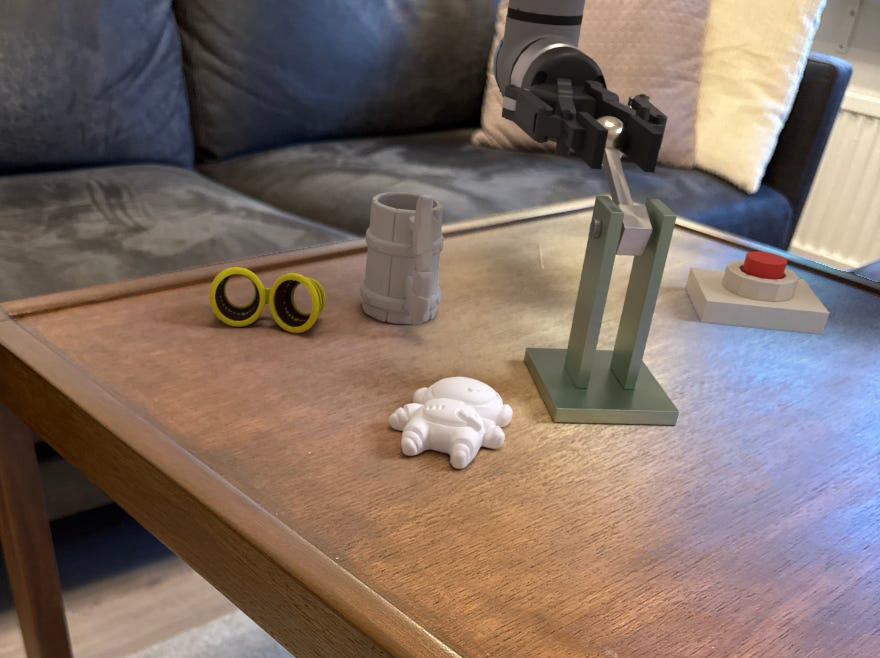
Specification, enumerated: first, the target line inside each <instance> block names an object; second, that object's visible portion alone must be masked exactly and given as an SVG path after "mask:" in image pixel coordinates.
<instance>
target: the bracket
mask: <svg viewBox="0 0 880 658" xmlns="http://www.w3.org/2000/svg"><path fill="white" fill-rule="evenodd" d="M594 199H595V200H594V206H593V210H592V215H591V221H590V224H589V232H588V236H587V242H586V248H585V252H584V258H583V263H582V268H581V274H580V278H579V283H578V290H577V295H576V300H575V304H574V305H575V306H574V310H573V311H574V312H573V316H572V320H571V321H572V322H571V325H570V326H571V327H570V332H569V338H568V343H567V347H566V348H554V347H553V348H552V347H550V348H549V347H525V353H524V358H523V361H524V363H525V365H526V367H527V370H528V371H529V373H530V375H531V377H532V379H533V382H534V383H535V386H536V387H537V388H536V389H538V391H539V394H540V396H541V398H542V400H543V402H544V404H545V406H546V408H547V410H548V412H549V414H550V416H551V419H552V420H553V422H554V423H571V424H573V423H574V424H611V425H613V424H614V425H615V424H616V425H657V426H660V425H661V426H676V425H677V421H678V418H679V414H680V411H679V409H678V408H677V406H676V405H675V403H674V402H673V400H671V398H670V397H669V395H668V394H667V392H666V391H665V389H664V388H663V387H662V385H661V384H660V383H659V381H658V379H657V378H656V377H655V376H654V374H653V373H652V372H651V370H650V369H649V367H648V366H647V365H646V363H645V362H644V360H643V359H644V355H645V350H646V346H647V342H648V338H649V333H650V331H651V330H650V329H651V325H652V322H653V317H654V313H655V308H656V305H657V302H658V301H657V300H658V296H659V292H660V288H661V284H662V280H663V275H664V271H665V269H666V263H667V259H668V256H669V255H668V254H669V252H670V251H669V250H670V246H671V242H672V238H673V233H674V229H675V225H676V221H677V218H678V215H677V214H676V213H675V212H673V211H672V210H671V209H670V208H669V206H667V205H666V204H665V203H664V202H663V201H661V200H660V198H646V200H645V205H644V206H646V208H647V212H648V215H649V218H650V222H651V225H652V229H653V231H652V233H651V236H650V238H649V241H648V244H647V246H646V249H645V251H644V254H643V256H633V260H632V264H631V267H630V268H631V269H630V273H629V278H628V283H627V287H626V292H625V296H624V301H623V306H622V309H621V314H620V320H619V323H618V328H617V333H616V338H615V341H614V346H613V349H612V350H611V349H610V350H609V349H597V348H598V347H597V346H598V342H599V337H600V332H601V328H602V323H603V318H604V314H605V310H606V309H605V308H606V303H607V299H608V293H609V289H610V285H611V279H612V275H613V270H614V266H615V260H616V256H617V255H616V251H617V246H618V241H619V237H620V232H621V227H622V222H623V217H624V212H623V211H622V210H621V209H620V208H619V207H618V206H617V205H616V204H615V203H614V202H613V201H612V198H611V197H609V196H608V195H595V198H594Z"/></svg>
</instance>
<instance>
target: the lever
mask: <svg viewBox="0 0 880 658" xmlns="http://www.w3.org/2000/svg"><path fill="white" fill-rule="evenodd" d="M596 121H598V122H599V123H600V124H601V125H602V126H603V127H605V128H606V129H607V130H608V136H607V141H606V146H605V151H604V157H603V162H602V168H603V172H604V175H605V179H606V183H607V186H608V190H609V193H610V199H611V200H612V201H613V202H614V203H615V204H616V205H617V206H618V207H619V208H620V209H621V210H622V211H623V212H624V217H623V222H622V227H621V232H620V237H619V241H618V246H617V251H616V256H630V257H634V256H643V254H644V251H645V249H646V246H647V244H648V241H649V238H650V236H651V233H652V231H653V229H652V225H651V222H650V218H649V215H648V212H647V208H646V206H645V205H642V204H641V205H640V204H634V202H633V199H632V195H631V191H630V188H629V185H628V182H627V178H626V174H625V171H624V168H623V164H622V161H621V159H622V157H623V156H624V155H625V154H624V153H625V151H626V148H627V145H628V132H627V129H626V127H625V125H624V124H623V123H622V122H621V121H620V120H619V119H617V118H615V117H612V116H603V117H600V118H598V119H596Z"/></svg>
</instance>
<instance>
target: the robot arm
mask: <svg viewBox="0 0 880 658" xmlns="http://www.w3.org/2000/svg"><path fill="white" fill-rule="evenodd" d="M585 5H586V0H508V6H507V12H506V16H505V23H504V33H503V36H502V38H501V39H500V42H499V43H498V45H497V46H496V49H495V52H494V56H493V62H492V63H493V64H492V68H493V69H492V70H493V76H494V80H495V83H496V86H497V88H498V89H499V93H500V95H501V97H502V98H503V101H502V108H501V109H502V111H501V118H503V119H505V120H508V121H510V122H513V123H514V124H515V125H516V126H518V128H519V129H520V130H522V131H523V133H525V134H527V136H529V138H531V139H532V140H533V141H534V142H537V144H544V143H548V142H550V143H551V142H552V143H555V148H554V149H555V150H554V154H555V155H557V156H563V157H565V156H566V157H567V156H569V155H570V153H571V149H572V151H573V152H575V154H576V155H577V156H579V158H580V159H581V160H582V161H583V162H584V163H585V164H586V165H587V166H588V167H589V168H590V169H591V170H602V168H603V166H602V162H603V157H604V151H605V146H606V141H607V136H608V130H607V129H606V128H605V127H603V126H602V125H601V124H600V123H599V122H598V121H596V119H598V118H600V117H603V116H612V117H615V118H617V119H619V120H620V121H621V122H622V123H623V124H624V125H625V127H626V129H627V132H628V145H627V148H626V151H625V153H624V154H623V155H625V156H626V157H627V158H628V159H630V161H632V162H633V163H634V164H636V166H638V167H639V168H640V170H642V171H643V172H644V173H652V174H653V173H655V172H656V167H657V163H658V158H659V152H660V150H661V148H662V145H663V140H664V136H665V131H666V127H667V122H668V116H667V115H666V114H664V113H663V112H662V110H661V109H659V108H658V107H657V106H655V105H654V104H652V102H650V98H651V97H650V96H649V95H647V94H645V93H639V94H636V95H635V96H633V95H630V96H629V97H628V100H627V102H623V101H620V96H619V95H618V94H617V93H615V92H613V91H611V90H610V89H608V87H607V83H606V78H605V76H604V73H603V71H602V69H601V67H600V66H599V64H598V63H597V62H596V61H595V60H594V59H593V58H591V57H590V56H589V55H587V54H586V53H584V52H583V51H582V50H580V49H579V41H580V35H581V30H582V24H583V17H584V15H583V14H584V9H585Z"/></svg>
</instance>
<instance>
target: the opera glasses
mask: <svg viewBox="0 0 880 658" xmlns="http://www.w3.org/2000/svg"><path fill="white" fill-rule="evenodd" d="M237 276H242V277H245V278H247V279H248V280H249V281H250V282H251V283H252V285H253V288H254V295H253V298H252V299H251V301H250V302H249V303H248V304H246V305H236V304H234V303H233V302H232V301H231V300H230V299H229V298H228V296H227V292H226V289H227V284H228V282H229V281H230V280H231V279H232V278H234V277H237ZM300 285H302V286H304V287H305V288H306V290H307V292H308V293H309V295H310V299H311V311H310V313H309V312H303V311H302V310H300V308H299V307H298V306H297V304H296V302H295V292H296V290H297V288H298V286H300ZM208 301H209V305H210V307H211V310H212V312H213V314H214V315H215V317H217V319H219V320H220V321H221V322H222V323H224V324H226V325H228V326H231V327H236V328H238V327H241V328H242V327H245V326H249V325H251V324H252V323H254V322H255V321H257V320H258V319H259V318H260V317H261V315H262V314H263V313H264V309H265V306H266V305H268V307H269V311H270V314H271V317H272V318H273V320H274V321H275V323H276V324H277V325H278V326H279V327H280V328H282V330H285V331H286V332H289V333H294V334H299V333H304V332H306V331H308V330H309V329H311V328H312V327H313V326H314V324H315V323H316V322H317V320H318V317H319V315H320V314H321V313H322V312H323V311H324V309H325V307H326V304H327V303H326V302H327V295H326V291H325V288H324V287H323V286H322V284H321V283H320V282H319V281H317V279H314V278H312V277H306V276H304V275H303V274H300V273H297V272H287V273H285V274H283V275H280V276H279V277H278V278H277V279H276V280H275V281H274V282H273V284H272V286H271V287H270V288H268V287H266V286H264V285H263V282H262V281H261V279H260V278H259V277H258V275H256V273H254V272H253V271H251V270H250V269H248V268H244V267H242V266H241V267H240V266H233V267H227V268H225V269H223V270H222V271H220V272H219V273H218V274H217V275H216V276H215V277H214V278H213V280H212V282H211V284H210V287H209V292H208Z"/></svg>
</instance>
